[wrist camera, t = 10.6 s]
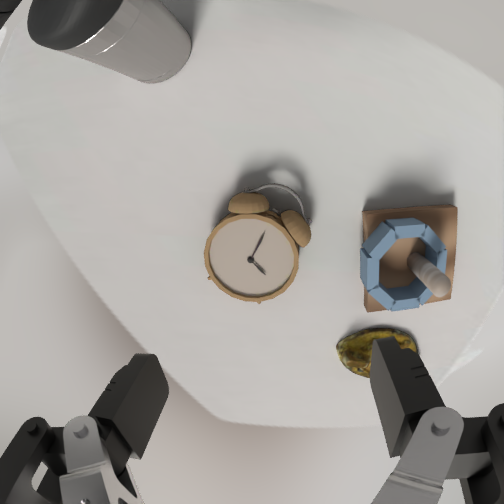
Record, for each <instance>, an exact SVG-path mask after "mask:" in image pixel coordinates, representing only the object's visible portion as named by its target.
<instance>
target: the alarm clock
mask: <svg viewBox="0 0 504 504" xmlns="http://www.w3.org/2000/svg"><path fill="white" fill-rule="evenodd" d="M267 187H276V188H281V189H283V190H286V191H288V192H289V193H291V194H292V195H293V196H294V197H295V198H296V199H297V200H298V202H299V204H300V206H301V209H302V214H303V216H302V215H301V214H299V213H298V212H296V211H293V210H287V211H284V212H283V213H281V217H280V216H278V215H277V214H276V213H278V212H279V211H278V210H276V209H274V208H273V209H272V211H273V212H272V211H268V209H269V203H268V200H267V198H266V197H265V196H263V195H262V194H260V193H256V191H259V190H261V189H264V188H267ZM228 210H229V211H230V212H231V213H230V214H229V215H227V216H226V217H225V218H223V219H222V220H221V221H220V222H219V224H218V225H217V226H216V227H215V228H214V229H213V231H212V233H211V234H210V236H209V237H208V239H207V242H206V246H205V250H204V259H205V267H206V269H207V271H208V273H209V275H210V276H209V277H208V280H213V282H214V283H215V284H216V285H217V286H218V287H219V289H221V290H222V291H224V292H225V293H227V294H228V295H230V296H231V297H234V298H237V299H240V300H243V301H252V302H257V303H258V304H260V303H261V301H265V300H269V299H273V298H274V297H276V296H278V295H280V294H281V293H283V292H285V290H286V289H287V288H288V287H289V286H290V285H291V283H292V282H293V281H294V278H295V276H296V273H297V271H298V259H299V253H298V252H299V245H300V246H301V247H305V246H306V245H307V244H308V243H309V241H310V239H311V230H310V227H309V224H310V223H311V222H312V220H311V219H306V217H305V215H304V210H303V204H302V202H301V199H300V198H299V196H298V195H297V194H296V193H295V192H294V191H293V190H291V189H290V188H288V187H286V186H283V185H280V184H275V183H274V184H266V185H263V186H261V187H259V188H256V189H253V190H250V189H249V188H245V191H244V192H243V193H239V194H237V195H235V196H234V197H233V198H232V199H231V200H230V202H229V206H228ZM298 244H299V245H298Z"/></svg>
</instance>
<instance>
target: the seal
mask: <svg viewBox="0 0 504 504" xmlns="http://www.w3.org/2000/svg"><path fill="white" fill-rule="evenodd" d="M392 336H394V337H395V338H396V340H397V342H398V344H399V346H400V348H401V349H404V348H410V349H412V350H413V351H414V352H415V353H417V354H418V350H417V347H416V344H415V342H414V341H413V339H412V338H411V337H410V336H409V335H408V334H406V333H404V332H401V331H398V330H395V329H390V328H388V329H385V328H374V329H366V330H363V331H359V332H357V333H354V334H352V335H350V336H348V337H346V338H345V339H343V340H342V341H340V342H339V343H338V344H337V346H336V348H337V353H338V356H339V358H340V360H341V362H342V363H343V365H344V366H345V367H346V368H348V369H349V370H350V371H352V372H353V373H355V374H358V375H361V376H364V377H367V378H370V366H371V356H372V345H373V341H374V340H375V339H381V338H387V337H392Z"/></svg>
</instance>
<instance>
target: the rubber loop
mask: <svg viewBox="0 0 504 504" xmlns="http://www.w3.org/2000/svg"><path fill="white" fill-rule="evenodd" d="M385 223H386V224H385ZM385 223H384V222H381V223H380V224H379V226H378V227H377V228H376V229H375V230H374V231H373V233H372V234H371V235H370V236H369V237H368V238H367V239H366V241H365V242H364V243H363V244H362V246H363V247H364V248H361V249H360V278H361V280H362V282H363V284H364V286H365V288H366V290H367V292H368V293H369V294H370V295H371V296H372V297H373V298H375V299H376V300H377V301H378V302H379V303H380V304H381V305H383V306H384V307H385V308H386V309H387V310H388V311H389V310H391V311H399V310H406V309H412V308H419V304H421V305H423V304H424V303H425V302H426V301H427V300H428V299H429V298H430V297H431V296H432V295H433V293H432V292H431V291H430V290H429V289H428V288H427V287H426V285H425V284H424V283H423V282H422V281H421V280H420V279H419V278H418V277H416V278H415V279H414V280H413V281H412V282H411V283H410V285H409V286H403V287H395V288H386V287H385V286H383V285H382V284H381V283H380V282H379V260H380V259H381V257H382V256H383V255H384V254H385V253H386V252H387V251H388V250H389V248H390V247H391V246H392V245H393V244H394V243H395V242H396V240H397V239H402V238H413V237H419V238H420V239H421V240H422V241H423V242H424V244H425V245H426V249H425V258H426V259H428V260H429V261H430V262H431V263H432V264H433V265H435V266H436V267H437V268H438V269H439V270H440V271H442V272H443V273H444V274H445V270H446V259H447V249H445V248H446V246H445V244H444V243H443V242H442V241H441V240H440V238H439V237H438V236H437V235H436V234H435V233H434V231H433V230H432V229H431V228H430V227H429V226H428V225H427V224H425V223H423V222H421V221H419V220H418V219H415V218H400V219H387V220H385Z"/></svg>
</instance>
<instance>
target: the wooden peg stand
mask: <svg viewBox="0 0 504 504" xmlns="http://www.w3.org/2000/svg"><path fill="white" fill-rule="evenodd" d="M362 213H363V233H364V242H365V241H366V239H367V238H368V237H369V236H370V235H371V234H372V233H373V231H374V230H375V229H376V228H377V227H378V226H379V224H380V223H381V222H384V223H385V220H387V219H400V218H415V219H418V220H419V221H421V222H423V223H425V224H427V225H428V226H429V227H430V228H431V229H432V230H433V231H434V233H435V234H436V235H437V236H438V237H439V238H440V240H441V241H442V242H443V243H444V244H445V246H446V248H445V249H447V259H446V270H445V274H444V273H443V272H442V271H440V270H439V269H438V268H437V267H436V266H435V265H433V264H432V263H431V262H430V261H429V260H428V259H426V258H425V249H426V245H425V244H424V242H423V241H422V240H421V239H420V238H419V237H413V238H402V239H397V240H396V242H395V243H394V244H393V245H392V246H391V247H390V248H389V250H388V251H387V252H386V253H385V254H384V255H383V256H382V257H381V259H380V260H379V282H380V283H381V284H382V285H383V286H385V287H386V288H395V287H403V286H409V285H410V283H411V282H412V281H413V280H414V279H415V278H416V277H418V278H419V279H420V280H421V281H422V282H423V283H424V284H425V285H426V287H427V288H428V289H429V290H430V291H431V292H432V293H433V295H432V296H431V297H430V298H429V299H428V300H427V301H426V302H425V303H424V304H426V303H432V302H437V301H442V300H448V299H451V292H452V284H453V275H454V266H455V254H456V239H457V207H455V206H453V205H435V206H421V207H407V208H394V209H382V210H370V211H362ZM385 224H386V223H385ZM419 305H420V304H419ZM364 306H365V308H366V311H367V312H374V311H382V310H387V309H386V308H385V307H384V306H383V305H381V304H380V303H379V302H378V301H377V300H376V299H375V298H373V297H372V296H371V295H370V294H369V293H368V292H367V290H366V288H365V286H364Z"/></svg>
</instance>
